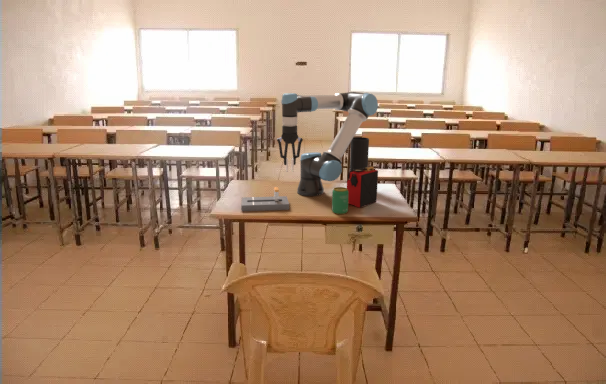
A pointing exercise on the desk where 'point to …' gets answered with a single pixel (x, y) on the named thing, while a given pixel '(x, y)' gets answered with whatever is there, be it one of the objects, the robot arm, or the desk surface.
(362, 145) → the vase
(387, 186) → the desk surface
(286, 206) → the console
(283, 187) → the desk surface
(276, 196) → the fader
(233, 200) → the desk surface
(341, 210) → the beverage can
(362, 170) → the radio
